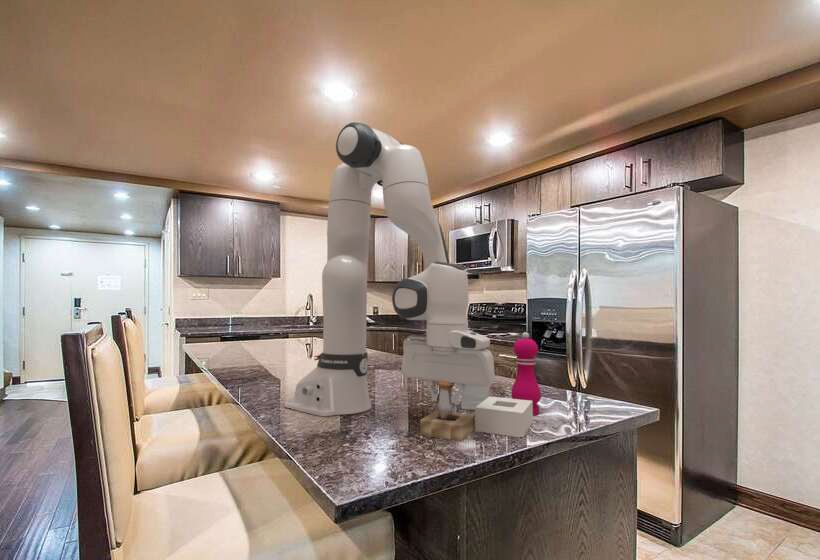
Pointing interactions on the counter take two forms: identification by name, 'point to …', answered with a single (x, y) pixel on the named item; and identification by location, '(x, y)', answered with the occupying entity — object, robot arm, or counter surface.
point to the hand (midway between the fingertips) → (445, 403)
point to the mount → (448, 426)
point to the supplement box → (474, 396)
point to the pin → (445, 400)
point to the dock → (504, 416)
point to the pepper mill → (526, 372)
